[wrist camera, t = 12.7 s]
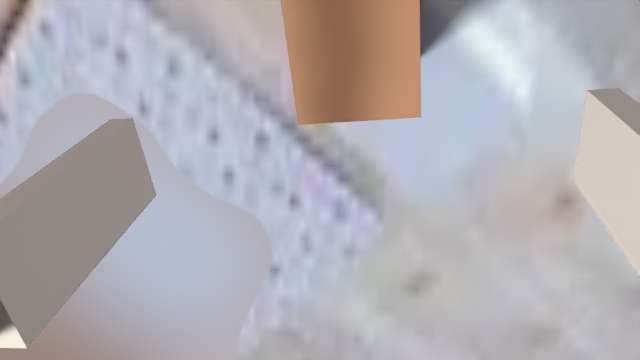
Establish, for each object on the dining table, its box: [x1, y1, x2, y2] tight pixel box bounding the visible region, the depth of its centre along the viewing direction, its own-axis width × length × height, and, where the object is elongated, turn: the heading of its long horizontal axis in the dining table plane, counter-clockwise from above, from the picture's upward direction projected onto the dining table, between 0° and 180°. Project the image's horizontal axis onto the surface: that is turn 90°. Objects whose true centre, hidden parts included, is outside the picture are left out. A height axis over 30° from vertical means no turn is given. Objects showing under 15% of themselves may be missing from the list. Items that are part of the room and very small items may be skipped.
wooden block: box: [281, 0, 421, 125], centre depth 26 cm, size 6×6×9 cm
